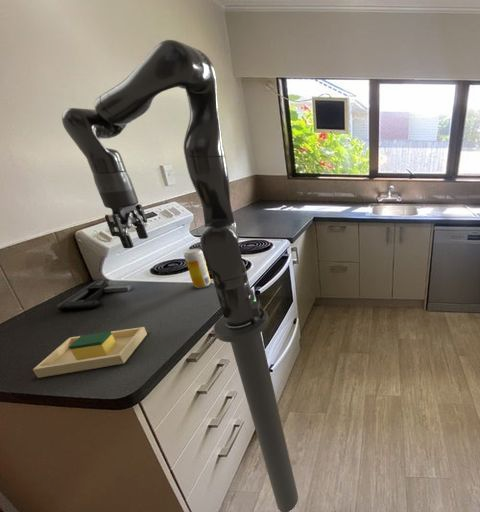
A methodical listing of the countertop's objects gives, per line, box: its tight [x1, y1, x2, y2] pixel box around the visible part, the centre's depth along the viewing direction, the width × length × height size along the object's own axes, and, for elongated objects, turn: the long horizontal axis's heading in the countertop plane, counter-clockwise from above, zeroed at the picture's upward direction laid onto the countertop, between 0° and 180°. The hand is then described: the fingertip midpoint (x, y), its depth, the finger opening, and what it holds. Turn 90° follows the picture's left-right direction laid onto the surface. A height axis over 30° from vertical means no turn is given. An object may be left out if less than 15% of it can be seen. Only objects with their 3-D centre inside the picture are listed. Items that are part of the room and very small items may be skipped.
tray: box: [32, 326, 148, 379], centre depth 79 cm, size 19×13×3 cm
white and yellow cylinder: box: [183, 247, 212, 289], centre depth 113 cm, size 6×6×15 cm
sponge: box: [69, 331, 116, 360], centre depth 79 cm, size 7×5×4 cm, turn 104°
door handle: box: [56, 278, 132, 312], centre depth 108 cm, size 3×20×16 cm
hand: (136, 242), depth 86 cm, fingers open, 8 cm apart
